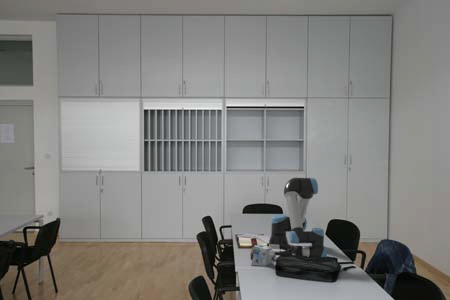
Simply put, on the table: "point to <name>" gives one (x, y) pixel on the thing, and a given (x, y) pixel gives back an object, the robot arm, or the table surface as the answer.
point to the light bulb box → (262, 254)
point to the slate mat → (261, 264)
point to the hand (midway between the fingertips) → (269, 249)
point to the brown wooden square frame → (253, 253)
